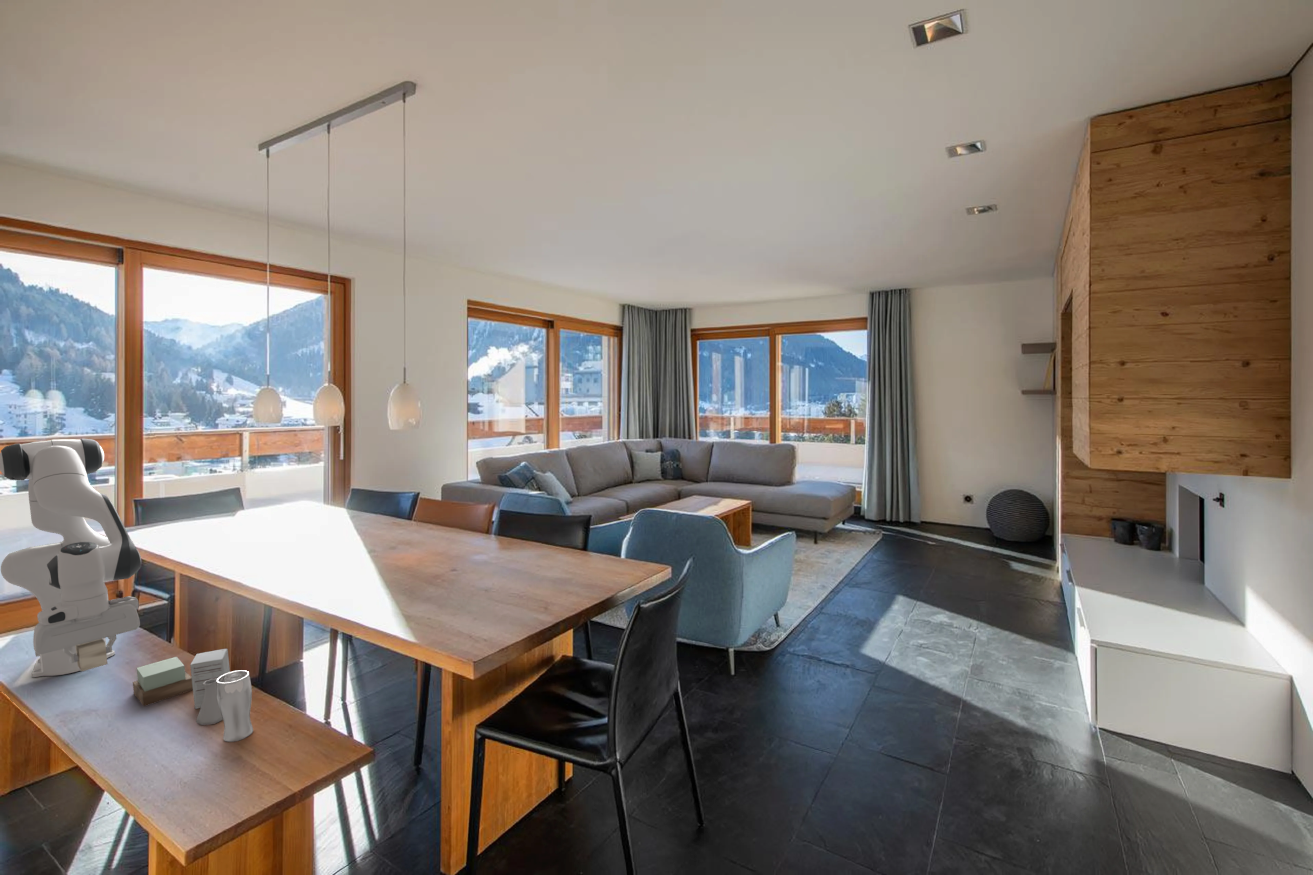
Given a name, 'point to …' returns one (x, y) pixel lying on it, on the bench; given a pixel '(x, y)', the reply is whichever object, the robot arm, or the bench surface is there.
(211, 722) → the flask
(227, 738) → the beer glass
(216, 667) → the supplement box
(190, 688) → the tower base slab
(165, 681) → the tower top block
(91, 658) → the birch block
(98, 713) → the bench surface
